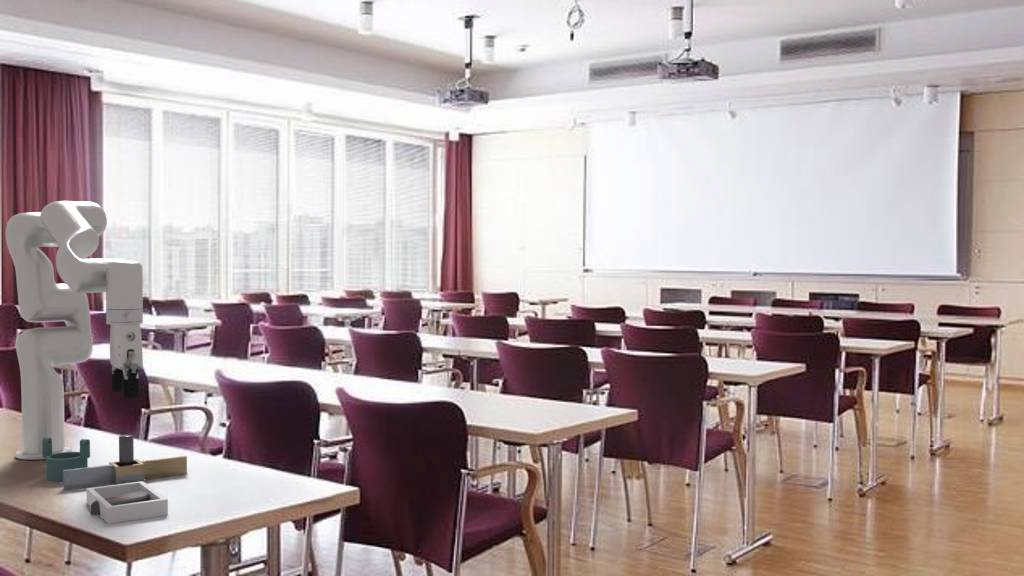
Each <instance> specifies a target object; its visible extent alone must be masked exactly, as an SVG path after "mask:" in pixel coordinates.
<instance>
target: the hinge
mask: <svg viewBox="0 0 1024 576" xmlns="http://www.w3.org/2000/svg"><path fill="white" fill-rule="evenodd" d="M187 459H188V457H187V455H182V456H173V457H164V458H163V457H162V458H155V459H147V460H139V459H137V458H136V459H135V458H134V464H133V465H125V466H119V460H118V461H110V462H109V463H108V464H105V465H97V466H88V467H86V468H77V469H69V470H63V482H62V489H63V490H73V489H80V488H90V487H98V486H106V485H117V484H125V483H132V482H140V481H143V482H145V483H146V481H145V480H150V479H157V478H158V479H159V478H166V477H172V476H173V477H174V476H181V475H188V462H187V461H188V460H187Z"/></svg>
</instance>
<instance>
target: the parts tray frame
mask: <svg viewBox="0 0 1024 576" xmlns="http://www.w3.org/2000/svg"><path fill="white" fill-rule="evenodd" d="M85 488H86V504H87V505H88V506H89V507H90V508H91V504H92V503H93V502H94V501H96V500H97V501H98V503H99V505H100V516H99V517H101V519H103V520H104V521H105V522H106V523H107V524H116V523H121V522H127V521H136V520H141V519H147V518H149V519H150V518H155V517H160V516H161V517H162V516H167V515H168V514H169V506H168V505H169V501H168V498H166V497H165V496H164V495H162V494H161V493H160V492H159V491H157V490H155V489H154V488H153V487H152V486H151V485H149V484H147V483H146V481H145V482H143V481H140V482H132V483H125V484H117V485H115V484H108V485H101V486H93V487H85ZM137 491H141V492H145V493H148V494H149V496H150V501H143V502H136V503H129V504H121V505H114V506H112V505H111V504H110V503H108V502H107V501H106V500H105V498H110V497H115V496H119V495H124V494H129V493H133V492H137Z"/></svg>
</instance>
